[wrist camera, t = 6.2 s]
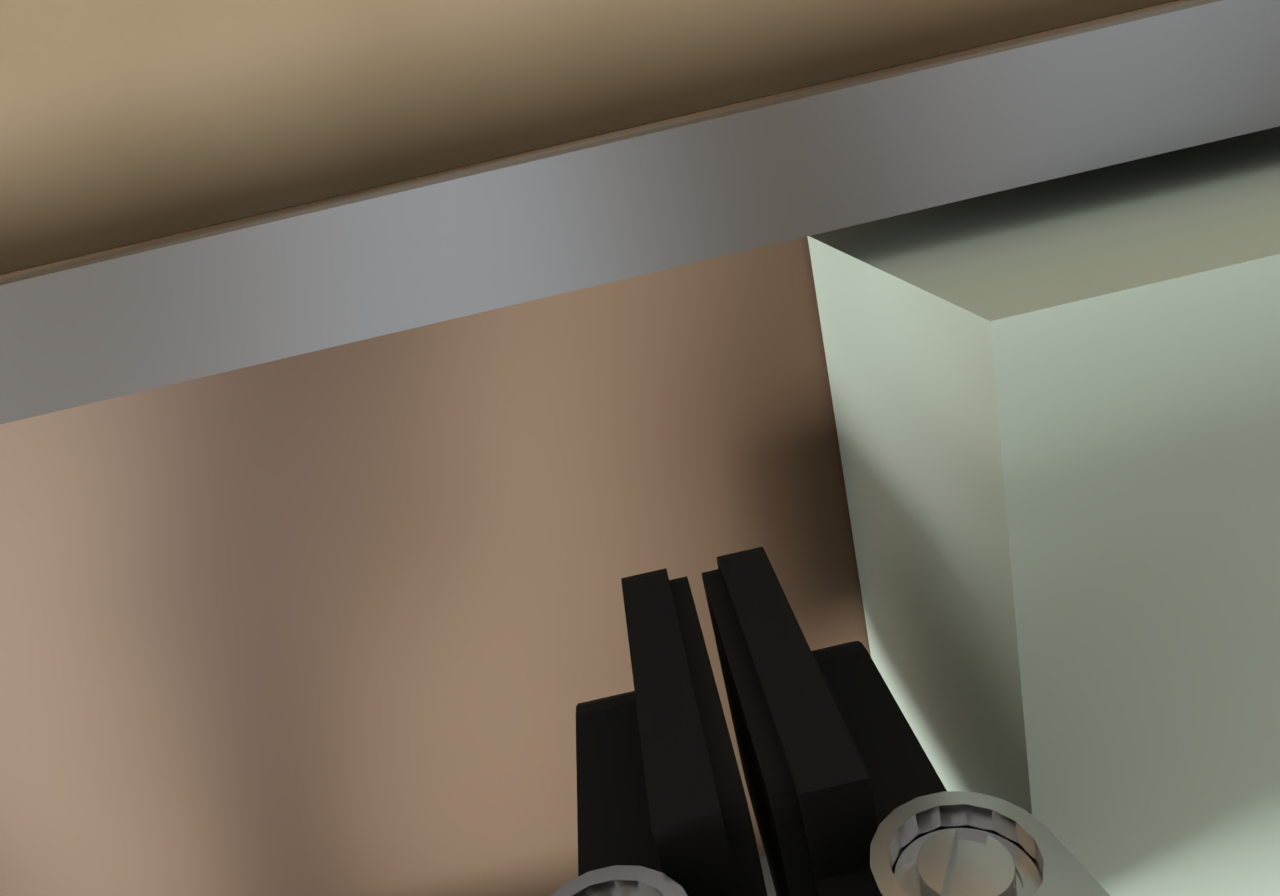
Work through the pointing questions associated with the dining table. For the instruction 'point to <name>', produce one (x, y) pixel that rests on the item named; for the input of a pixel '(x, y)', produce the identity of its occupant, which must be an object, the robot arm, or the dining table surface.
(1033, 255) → the sliding block
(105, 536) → the track
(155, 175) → the dining table surface
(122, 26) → the dining table surface
